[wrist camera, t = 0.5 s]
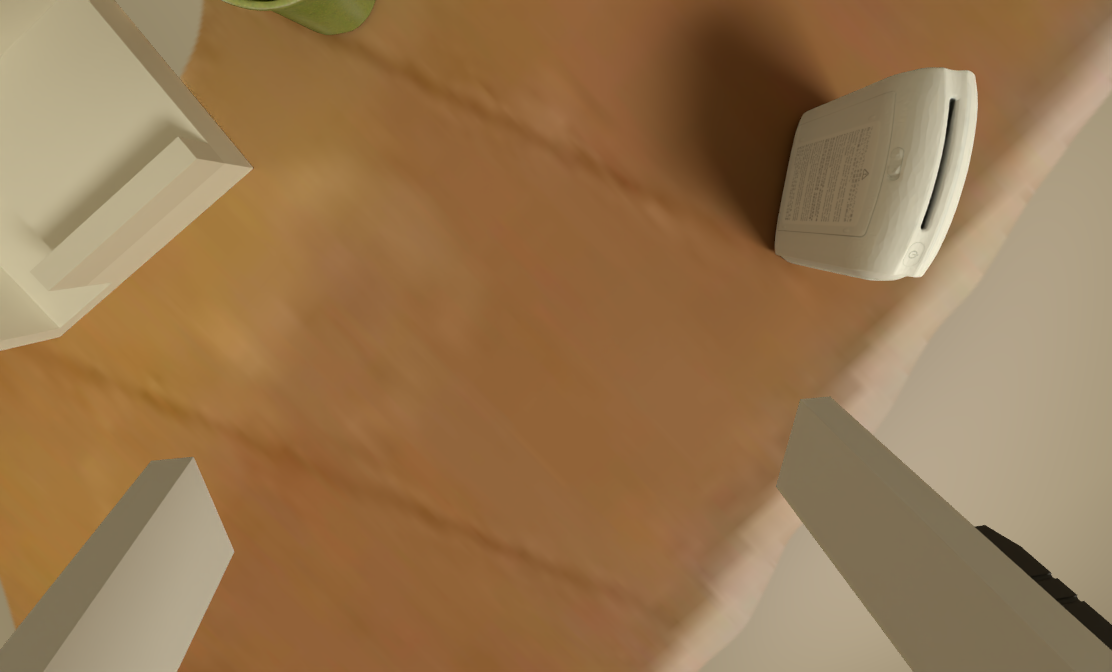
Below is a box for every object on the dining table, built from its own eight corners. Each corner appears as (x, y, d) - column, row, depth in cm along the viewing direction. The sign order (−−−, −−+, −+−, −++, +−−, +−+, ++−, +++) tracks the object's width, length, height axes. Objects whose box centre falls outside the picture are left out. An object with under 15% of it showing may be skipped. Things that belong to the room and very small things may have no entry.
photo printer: (825, 268, 36) (959, 293, 24) (765, 262, 36) (868, 284, 24) (859, 112, 33) (1027, 51, 21) (794, 105, 33) (926, 40, 21)
